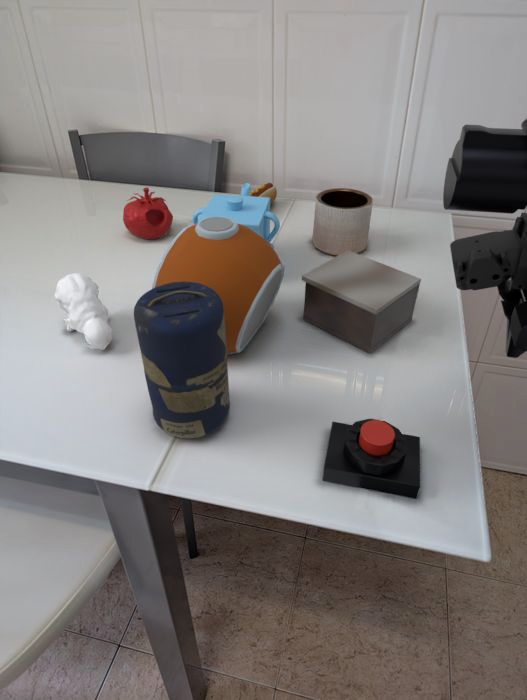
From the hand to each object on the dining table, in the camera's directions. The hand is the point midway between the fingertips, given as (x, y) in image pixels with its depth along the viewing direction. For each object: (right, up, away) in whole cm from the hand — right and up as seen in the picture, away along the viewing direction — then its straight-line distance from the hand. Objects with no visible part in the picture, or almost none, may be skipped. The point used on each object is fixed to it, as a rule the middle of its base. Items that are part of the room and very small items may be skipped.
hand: (511, 355), depth 52 cm
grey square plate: (-12, +11, +22) cm, 27 cm away
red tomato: (-50, +25, +51) cm, 75 cm away
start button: (-14, -10, +1) cm, 17 cm away
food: (-28, +32, +60) cm, 73 cm away
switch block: (-14, -12, +3) cm, 19 cm away
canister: (-35, -8, +9) cm, 37 cm away
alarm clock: (-33, +3, +24) cm, 41 cm away
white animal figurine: (-52, +3, +23) cm, 57 cm away
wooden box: (-11, +5, +26) cm, 29 cm away
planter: (-11, +21, +47) cm, 53 cm away
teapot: (-31, +18, +42) cm, 55 cm away
